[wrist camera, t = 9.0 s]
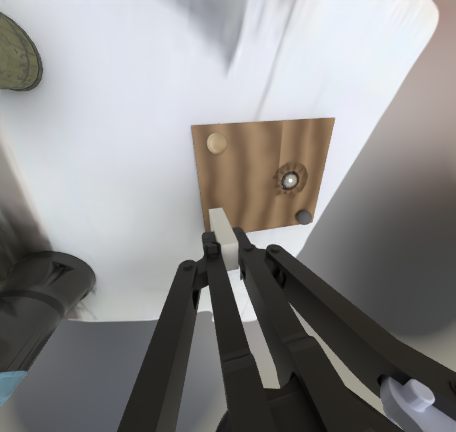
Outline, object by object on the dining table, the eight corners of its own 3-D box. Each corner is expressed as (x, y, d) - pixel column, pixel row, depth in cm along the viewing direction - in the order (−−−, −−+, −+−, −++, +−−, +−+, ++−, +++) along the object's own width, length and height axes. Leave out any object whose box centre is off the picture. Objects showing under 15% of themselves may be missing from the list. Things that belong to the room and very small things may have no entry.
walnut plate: (205, 232, 43) (206, 238, 41) (191, 125, 31) (191, 125, 29) (306, 217, 47) (312, 222, 45) (326, 117, 35) (335, 117, 33)
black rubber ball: (292, 221, 43) (300, 228, 40) (294, 209, 42) (302, 215, 39) (305, 219, 44) (313, 226, 41) (307, 207, 42) (316, 213, 39)
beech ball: (207, 153, 32) (208, 156, 29) (205, 132, 30) (206, 133, 27) (225, 152, 32) (229, 154, 29) (224, 131, 31) (228, 132, 28)
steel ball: (287, 191, 37) (299, 187, 39) (289, 175, 36) (301, 172, 37) (277, 187, 40) (288, 184, 41) (278, 172, 38) (289, 169, 40)
